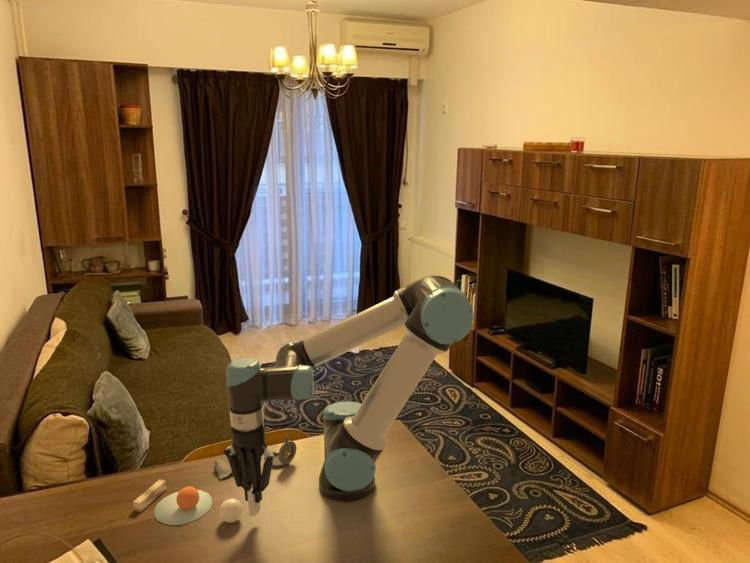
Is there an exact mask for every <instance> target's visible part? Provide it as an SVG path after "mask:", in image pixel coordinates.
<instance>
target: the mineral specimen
mask: <svg viewBox="0 0 750 563" xmlns="http://www.w3.org/2000/svg"><path fill="white" fill-rule="evenodd" d="M213 471H215V472H217V475H218V480H223V479H224V478H228V477H229V476H230V475H231V474H233V473H232V470H231V466H230V463H229V460H228V458H227V457H226V455H225V456H223V457H221V458H219V459H217V460H215V461H214V465H213Z"/></svg>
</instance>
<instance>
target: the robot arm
mask: <svg viewBox="0 0 750 563" xmlns="http://www.w3.org/2000/svg"><path fill="white" fill-rule="evenodd" d="M455 284H456V283H454V282H453V281H452V280H451V279H449V278H447V277H444V276H442V275H428V276H425V277H422V278H420V279H417V280H415V281H413V282H411V283H408V284H407V285H404V286H403V287H400V288H398V289H396V290H395V291H394V293H393V295H392V296H390V297H389V298H388V299H385V300H382V301H381V302H379V303H377V304H375V305H373V306H371V307H369V308H367V309H364V310H363V311H360V312H357V313H356V314H354V315H352V316H350V317H348V318H346V319H344V320H342V321H339V322H338V323H335V324H334V325H331V326H330V327H327V328H325V329H323V330H322V331H319V332H316V333H315V334H312V335H311V336H308V337H307V338H305V339H302V340H299V341H298V342H297V341H288V342H286V343H284V344H282V345H281V347H280V348H279V350H278V352H277V354H276V358H275V365H274V367H273V366H272V367H261V365H260V361H259V360H258V359H256V358H253V357H251V358H250V357H241V358H236V359H234V360H232V361H230V362H229V363H228V364H227V366H226V390H227V397H228V408H229V409H228V410H229V416H230V417H229V418H230V426H231V428H230V430H231V432H230V433H231V441H232V444H229V445H228V446H227V447H226V448H225V449H224V450H223V454H224V455H225V456H226V457H227V458H228V460H229V463H230V466H231V470H232V473H231V474H232V475H233V478H234V481H235V482H234V483H235V484H236V485H235V486H236V487H238V488H240V487H241V488H243V491H244V498H245V501H246V502H247V504H248V505H247V506H248V516H251V517H256V515H257V514H259V512H260V511H261V501H262V500H263V492H264V491H265V490H266V488H268V486H269V484H270V479H271V473H272V468H273V466H272V463H273V460H274V458H275V457H276V453H277V452H276V451H272V452H271V451H270V450H269V449H268V447H267V445H266V441H265V439H266V438H265V437H266V432H265V430H266V429H265V423H264V421H265V419H264V418H265V416H264V406H263V405H264V403H263V402H269V401H287V400H288V401H289V400H290V401H291V400H292V401H293V400H295V401H299V400H301V399H302V400H303V399H310V398H312V397H313V396H314V393H315V392H314V390H315V389H314V387H315V386H314V385H315V384H314V368H316V367H318V366H320V365H322V364H324V363H327V362H328V361H331V360H333V359H334V358H337V357H339V356H341V355H344V354H345V353H347V352H350V351H351V350H353V349H354V350H355V349H356V348H358V347H360V346H362V345H364V344H366V343H369V342H370V341H372V340H373V341H374V339H375V340H376V339H378V338H379V337H381V336H383V335H385V334H387V333H390V332H391V331H394V330H396V329H397V328H400V327H403V326H404V331H405V334H404V336H403V338H402V339H401V341H400V342H399V343H398V346H397V347H396V349H395V350H394V351H393V353H392V355H391V357H390V358H389V360H388V362H387V363H386V365H385V367H384V368H383V370H382V371H381V373H380V374H379V376H378V377H377V379H376V381H375V382H374V384H373V385H372V386H371V388H370V390H369V391H368V393H367V395H366V397H365V398H364V400H363V401H362V403H360V402H356V401H339V402H335V403H331V404H329V405H327V406H326V407H325V408H324V410H323V417H322V419H323V430H324V431H323V438H324V440H323V441H324V445H323V446H324V453H323V456H324V461H323V462H322V463H323V464H322V467H321V470H320V473H319V476H318V488H319V491H320V492H321V494H322V495H323V496H325V497H327V498H329V499H331V500H334V501H338V502H354V501H357V500H358V501H359V500H360V499H364V498H365V497H367V496H368V495H370V494H371V493H372V492H373V491H374V489H375V485H376V476H375V475H376V470H377V465H376V463H377V461H378V460H379V457H380V456H381V455H382V452H383V451H384V450H385V448H386V446H387V443H386V442H387V441H386V439H385V437H386V434H387V433H388V431H389V430H390V428H391V427H392V425H393V424H394V422H395V420H396V419H397V417H399V415H400V413H401V411H402V410H403V408H404V406H405V405H406V403H407V402H408V400H409V399H410V397H411V396H412V394H413V393H414V391H415V389H416V388H417V386H418V385H419V383H420V382H421V380H422V378H424V375H425V374H426V372H427V371H428V369H429V368H430V366H431V364H433V362H434V360H435V358H436V356H438V355H439V354H444V353H448V350H449V349H450V348H451V346H452V345H453V343H456V342H459V341H461V340H462V339H464V338H465V337H466V336H467V334H469V332H470V330H471V328H472V325H473V322H474V312H473V310H474V309H473V307H472V304H471V302H470V300H469V298H468V297H467V295H466V294H465V293H464V291H462V290H461V289H460V288H459V287H458V286H457V285H455ZM262 457H263V461H264V462H263V466H261V462H262ZM261 467H262V468H261Z"/></svg>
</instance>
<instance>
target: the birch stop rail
mask: <svg viewBox="0 0 750 563" xmlns="http://www.w3.org/2000/svg"><path fill="white" fill-rule="evenodd" d="M167 488H168V486H167V481H166V480H164V479H158V480H157V481H156V482H154V484H152V485H151V486H149V488H148V489H146V490H145V491H144V492H143V493H142V494H140V495H139V496H138V497H137V498H136V499H135V500H133V501H132V503H133V510H134V511H136V512H140V513H142V511H144V510H145V508H147V507H148V506H149V505H150V504H151V503H153V501H155V500H156V499H157V498H158V497H159V496H160V495H162V494H163V493H164V492H165V491H166V490H167Z"/></svg>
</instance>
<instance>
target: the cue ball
mask: <svg viewBox="0 0 750 563" xmlns="http://www.w3.org/2000/svg"><path fill="white" fill-rule="evenodd" d="M243 508H244V507H243V504H242V502H241V501H240V500H239V499H237V498H228V499H226V500H224V501H223V502H222V503H221V505H220V507H219V516H220V518H221V520H223V521H224V522H225V523H228V524H231V523H235V522H237V521H238V520H239V519H240V518H241V517H242V514H243V512H244V509H243Z"/></svg>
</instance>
